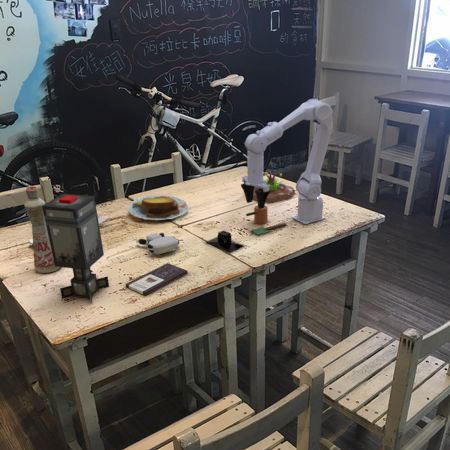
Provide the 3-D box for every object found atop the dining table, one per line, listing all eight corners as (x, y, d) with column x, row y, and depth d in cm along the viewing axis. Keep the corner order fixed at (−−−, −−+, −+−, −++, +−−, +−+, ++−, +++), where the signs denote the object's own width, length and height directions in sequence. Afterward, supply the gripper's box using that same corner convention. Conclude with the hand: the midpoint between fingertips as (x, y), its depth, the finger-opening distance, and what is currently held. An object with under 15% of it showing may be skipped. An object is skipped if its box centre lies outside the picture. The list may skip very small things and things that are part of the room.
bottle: (68, 263, 172) (51, 182, 158) (54, 275, 165) (35, 191, 151) (44, 261, 174) (26, 181, 160) (30, 273, 167) (9, 190, 152)
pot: (262, 218, 203) (262, 201, 200) (270, 222, 199) (270, 205, 196) (242, 223, 199) (242, 206, 196) (249, 227, 195) (249, 210, 192)
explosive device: (80, 282, 160) (62, 190, 145) (109, 286, 158) (94, 193, 142) (62, 298, 152) (40, 202, 137) (92, 303, 149) (74, 205, 134)
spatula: (281, 223, 198) (281, 221, 198) (288, 227, 194) (288, 225, 194) (250, 231, 192) (250, 229, 191) (257, 236, 188) (257, 234, 188)
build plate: (244, 246, 181) (244, 234, 178) (229, 253, 176) (229, 241, 174) (219, 236, 188) (219, 225, 186) (205, 243, 184) (204, 231, 181)
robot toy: (134, 248, 183) (154, 260, 172) (132, 236, 181) (152, 247, 170) (164, 239, 189) (185, 250, 178) (163, 228, 187) (184, 238, 176)
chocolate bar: (187, 270, 163) (145, 292, 152) (187, 273, 164) (145, 295, 152) (167, 262, 168) (125, 283, 157) (167, 265, 169) (126, 286, 157)
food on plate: (179, 198, 225) (178, 184, 222) (197, 217, 205) (196, 202, 202) (122, 207, 217) (120, 192, 214) (135, 227, 198) (133, 211, 194)
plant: (238, 194, 227) (237, 170, 222) (268, 184, 239) (268, 160, 233) (271, 205, 215) (271, 179, 209) (301, 194, 226) (302, 169, 220)
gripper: (235, 166, 187) (235, 201, 194) (257, 176, 176) (257, 213, 183) (251, 163, 190) (251, 198, 197) (274, 172, 179) (273, 209, 186)
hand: (255, 205), depth 190 cm, fingers open, 7 cm apart
